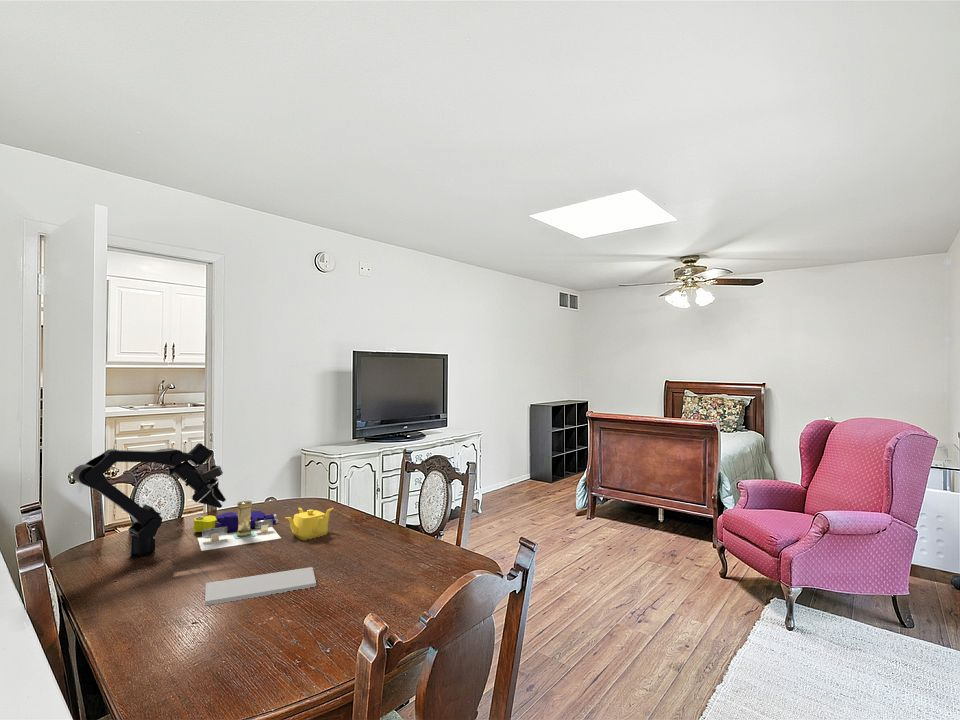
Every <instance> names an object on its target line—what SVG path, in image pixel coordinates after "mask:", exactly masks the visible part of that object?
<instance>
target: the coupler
mask: <svg viewBox="0 0 960 720" xmlns="http://www.w3.org/2000/svg"><path fill="white" fill-rule="evenodd" d="M236 504H237V505H236V507H237V515H238V529H237V530H236V532H237V533H236V536H238V537H246V536H249V535H251V530H252V528H250V524H251V511H252V506H253V502H252V501H251V500H242V501H239V502H237V503H236Z"/></svg>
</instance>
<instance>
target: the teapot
mask: <svg viewBox="0 0 960 720" xmlns="http://www.w3.org/2000/svg"><path fill="white" fill-rule="evenodd" d="M297 509H298V512H299V513H294V515H293V518H292V516H286V517H284V518H285V519H287V520H288V521H289V527H290V530H291V533H292V534H293V535H294V537H295V538H296V539H298V540H300V541H302V540H303V541H307V539H309V540H313V539H312V538H314V539H317V538H316V537H318V538H321V537H324V536H323V535H325V536H327V535H326V534H328V531H329V530H328V527H329V526H328V524H329V521H330V514H331V511H332V510H333V509H334V507H331V508H328V509H327V510H326V512H322V511H320V510H315V509H308V510H306V511H304V510H303V509H302V507H298V508H297ZM320 536H321V537H320Z"/></svg>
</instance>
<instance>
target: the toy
mask: <svg viewBox="0 0 960 720" xmlns="http://www.w3.org/2000/svg"><path fill="white" fill-rule="evenodd" d="M277 517H278V516H277V514H276V513H271V514H266V513H265V512H263V511H262V510H251V524H250V529H256V528H255V521H261V520H269V519H272V521H273V525H276V524H279V518H277ZM226 526H227V533H232V532H237V529H238V513H236V512H232V511H231V512H224V513H221V514H217V515H216V516H215V515H206V516H205V515H204V516H201V515H200V516H196V517H194V518H193V527H192V528H193V529H192V530H193V532H195V533H202V530H205V529H212V528H219V527H226Z"/></svg>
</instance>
